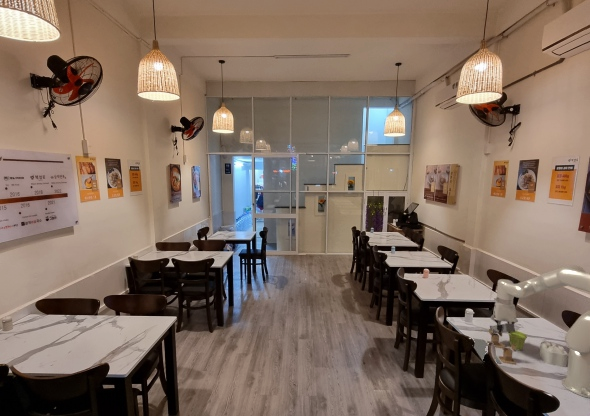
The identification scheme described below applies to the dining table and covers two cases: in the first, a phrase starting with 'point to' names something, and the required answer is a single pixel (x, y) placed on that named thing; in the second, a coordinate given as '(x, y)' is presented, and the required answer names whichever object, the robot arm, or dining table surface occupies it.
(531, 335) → the dining table surface
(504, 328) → the rail
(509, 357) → the post near
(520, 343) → the plant pot
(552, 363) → the lumpy-topped squat cylinder
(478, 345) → the mat
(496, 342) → the post far
